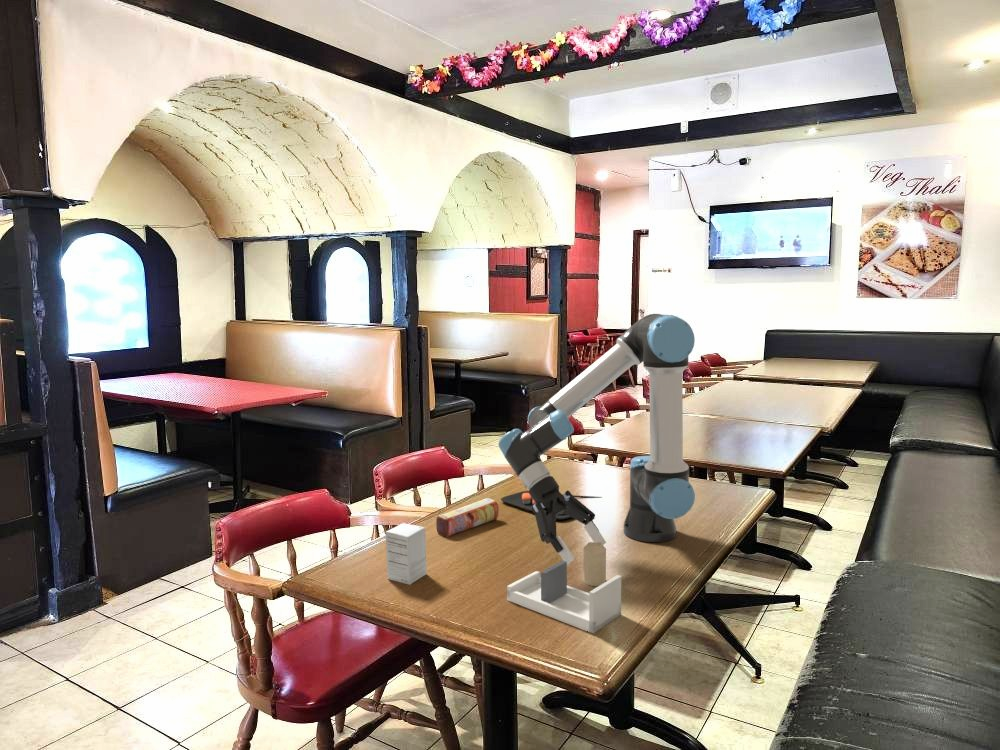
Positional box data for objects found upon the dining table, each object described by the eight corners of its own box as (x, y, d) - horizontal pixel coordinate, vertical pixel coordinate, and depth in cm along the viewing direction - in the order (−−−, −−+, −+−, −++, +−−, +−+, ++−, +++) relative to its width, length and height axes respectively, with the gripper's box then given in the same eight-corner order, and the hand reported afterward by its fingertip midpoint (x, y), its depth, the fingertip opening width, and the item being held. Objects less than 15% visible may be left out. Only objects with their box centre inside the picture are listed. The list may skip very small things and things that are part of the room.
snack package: (448, 539, 199) (448, 517, 198) (434, 533, 203) (433, 511, 202) (500, 521, 214) (499, 500, 213) (485, 516, 218) (485, 495, 217)
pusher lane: (536, 584, 167) (536, 549, 166) (620, 614, 152) (621, 576, 150) (507, 600, 159) (506, 563, 158) (593, 633, 143) (593, 593, 142)
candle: (603, 576, 171) (603, 538, 170) (607, 586, 166) (608, 546, 165) (581, 577, 171) (581, 539, 170) (585, 586, 166) (585, 547, 164)
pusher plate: (562, 591, 160) (562, 560, 159) (566, 593, 159) (566, 561, 158) (541, 604, 154) (540, 571, 153) (545, 605, 153) (545, 573, 152)
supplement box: (404, 568, 178) (403, 522, 176) (427, 574, 174) (426, 527, 172) (386, 579, 172) (384, 531, 170) (409, 585, 168) (408, 536, 166)
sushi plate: (497, 504, 231) (497, 493, 231) (557, 485, 251) (557, 475, 251) (560, 525, 210) (560, 513, 209) (620, 503, 230) (620, 492, 229)
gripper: (560, 480, 187) (605, 546, 179) (499, 502, 169) (547, 576, 161) (576, 465, 183) (623, 531, 175) (515, 485, 165) (565, 561, 157)
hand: (587, 553), depth 168 cm, fingers open, 13 cm apart
